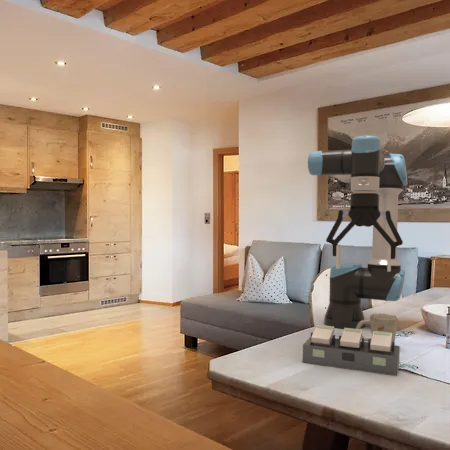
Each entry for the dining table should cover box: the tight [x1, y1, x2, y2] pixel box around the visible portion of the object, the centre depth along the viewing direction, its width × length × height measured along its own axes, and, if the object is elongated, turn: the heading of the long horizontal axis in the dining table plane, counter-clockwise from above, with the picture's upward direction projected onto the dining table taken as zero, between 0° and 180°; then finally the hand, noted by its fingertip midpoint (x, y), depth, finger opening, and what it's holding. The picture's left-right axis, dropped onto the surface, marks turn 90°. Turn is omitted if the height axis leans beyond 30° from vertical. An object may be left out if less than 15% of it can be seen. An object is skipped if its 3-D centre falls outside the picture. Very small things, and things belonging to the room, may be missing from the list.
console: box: [302, 331, 401, 377], centre depth 130 cm, size 11×25×7 cm, turn 67°
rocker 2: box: [340, 328, 363, 348], centre depth 130 cm, size 8×5×2 cm, turn 157°
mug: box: [356, 312, 399, 345], centre depth 147 cm, size 8×13×10 cm, turn 78°
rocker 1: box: [310, 324, 335, 344], centre depth 133 cm, size 8×5×2 cm, turn 157°
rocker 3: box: [370, 331, 392, 352], centre depth 127 cm, size 8×5×2 cm, turn 157°
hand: (363, 269), depth 128 cm, fingers open, 13 cm apart
